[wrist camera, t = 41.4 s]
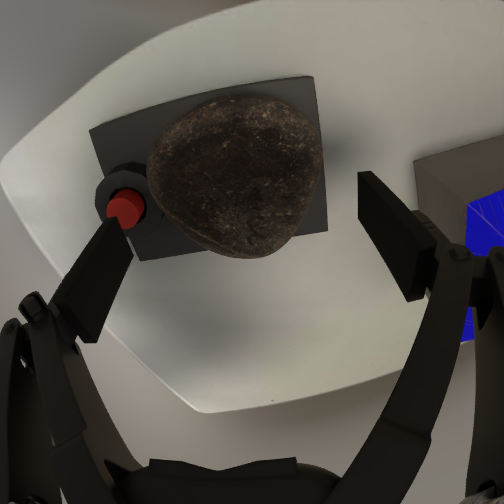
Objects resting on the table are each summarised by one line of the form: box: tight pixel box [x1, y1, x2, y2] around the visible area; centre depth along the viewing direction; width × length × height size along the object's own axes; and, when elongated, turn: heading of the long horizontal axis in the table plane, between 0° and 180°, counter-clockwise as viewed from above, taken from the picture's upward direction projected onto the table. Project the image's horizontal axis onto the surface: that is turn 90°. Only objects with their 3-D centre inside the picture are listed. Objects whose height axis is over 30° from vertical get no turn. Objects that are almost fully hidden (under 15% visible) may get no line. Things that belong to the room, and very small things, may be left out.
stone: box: [146, 94, 323, 259], centre depth 18 cm, size 11×11×5 cm
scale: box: [89, 76, 328, 262], centre depth 20 cm, size 17×12×4 cm
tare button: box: [106, 189, 144, 229], centre depth 19 cm, size 2×2×2 cm
